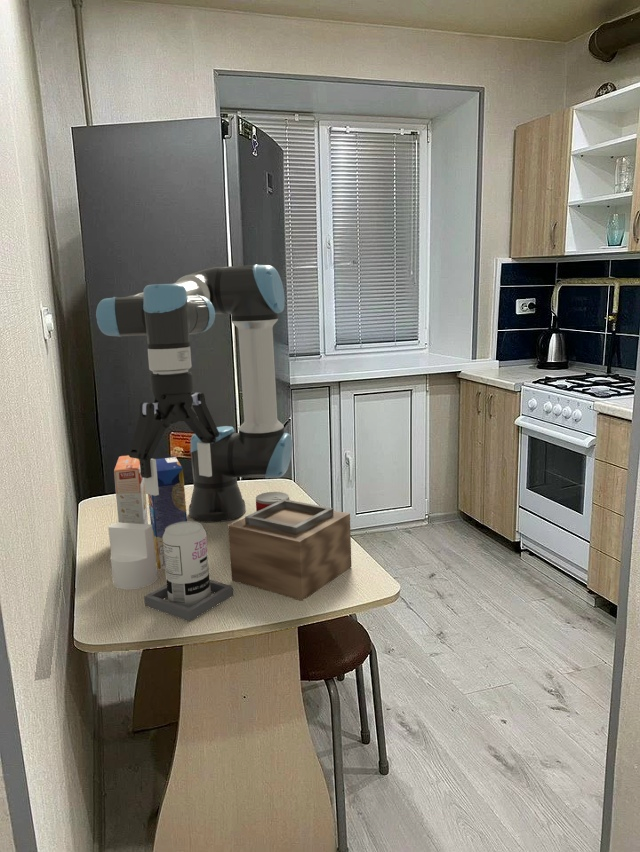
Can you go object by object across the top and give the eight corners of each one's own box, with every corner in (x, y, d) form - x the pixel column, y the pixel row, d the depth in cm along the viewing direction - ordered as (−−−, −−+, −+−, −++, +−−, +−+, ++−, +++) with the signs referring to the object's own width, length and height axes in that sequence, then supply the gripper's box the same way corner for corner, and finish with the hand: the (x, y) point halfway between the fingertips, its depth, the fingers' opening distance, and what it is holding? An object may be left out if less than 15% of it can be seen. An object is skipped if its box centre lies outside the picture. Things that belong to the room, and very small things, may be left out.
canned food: (287, 547, 152) (284, 502, 150) (254, 545, 154) (251, 501, 152) (294, 535, 160) (292, 492, 157) (263, 533, 161) (260, 491, 159)
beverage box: (183, 547, 155) (175, 456, 150) (190, 564, 145) (182, 468, 140) (153, 552, 152) (144, 460, 148) (159, 569, 142) (150, 472, 138)
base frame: (190, 582, 136) (189, 573, 135) (233, 595, 129) (233, 586, 129) (145, 605, 126) (144, 596, 126) (189, 621, 119) (188, 611, 119)
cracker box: (148, 555, 150) (139, 467, 146) (121, 558, 149) (111, 470, 145) (150, 534, 164) (143, 453, 160) (125, 536, 163) (117, 455, 159)
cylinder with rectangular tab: (104, 587, 135) (98, 532, 132) (128, 569, 143) (122, 517, 141) (143, 591, 132) (138, 535, 130) (165, 572, 141) (160, 519, 138)
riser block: (284, 550, 150) (281, 494, 147) (351, 566, 140) (349, 506, 137) (231, 580, 136) (227, 518, 133) (302, 600, 126) (299, 534, 123)
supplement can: (171, 592, 131) (164, 521, 128) (212, 590, 132) (207, 519, 129) (165, 612, 123) (158, 536, 120) (209, 609, 124) (203, 534, 121)
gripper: (129, 381, 106) (141, 506, 110) (232, 364, 126) (239, 470, 131) (100, 379, 110) (112, 499, 115) (204, 363, 131) (211, 466, 135)
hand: (180, 484), depth 123 cm, fingers open, 13 cm apart
